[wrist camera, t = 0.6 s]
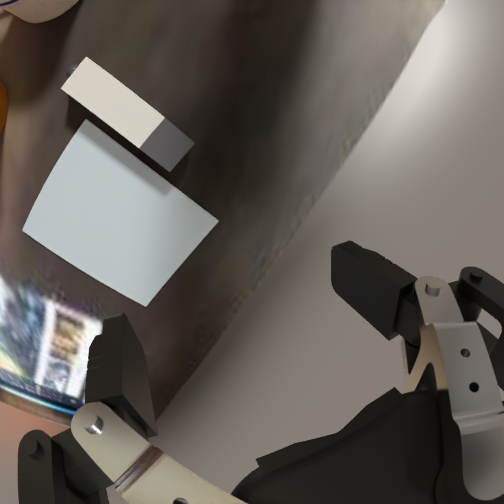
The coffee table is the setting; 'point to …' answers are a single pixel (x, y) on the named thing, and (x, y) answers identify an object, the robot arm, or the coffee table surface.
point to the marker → (126, 113)
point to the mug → (3, 106)
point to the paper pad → (116, 216)
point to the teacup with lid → (37, 9)
